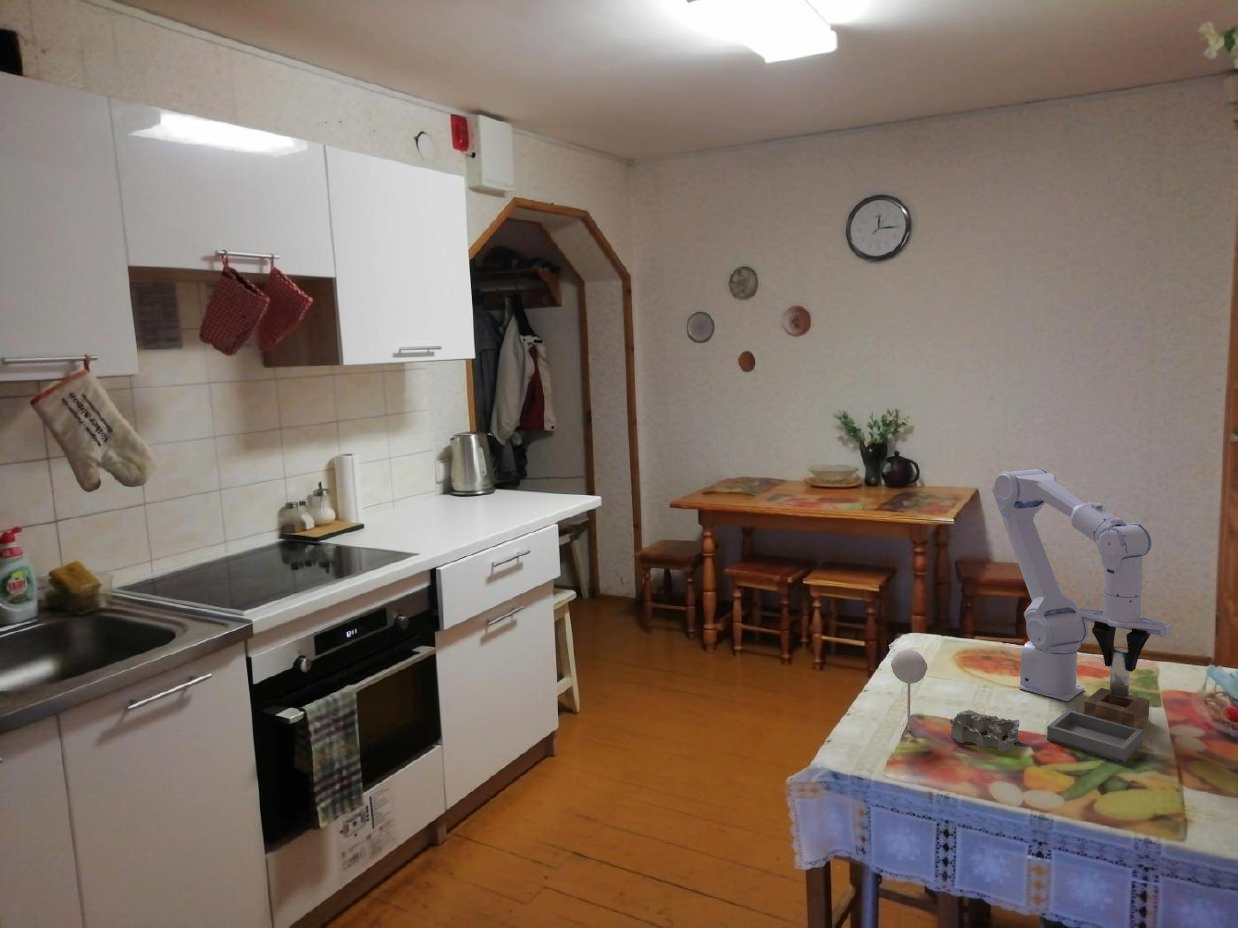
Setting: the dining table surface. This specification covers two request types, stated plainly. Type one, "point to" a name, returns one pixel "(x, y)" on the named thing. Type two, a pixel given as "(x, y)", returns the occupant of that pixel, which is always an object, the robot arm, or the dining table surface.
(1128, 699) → the holder
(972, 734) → the egg carton
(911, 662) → the lollipop
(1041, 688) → the robot arm
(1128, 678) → the pin
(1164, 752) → the dining table surface
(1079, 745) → the tray
